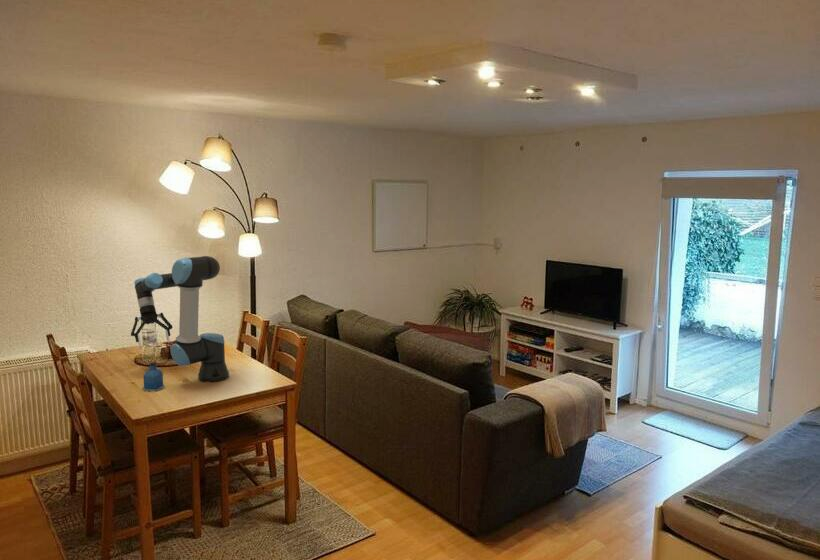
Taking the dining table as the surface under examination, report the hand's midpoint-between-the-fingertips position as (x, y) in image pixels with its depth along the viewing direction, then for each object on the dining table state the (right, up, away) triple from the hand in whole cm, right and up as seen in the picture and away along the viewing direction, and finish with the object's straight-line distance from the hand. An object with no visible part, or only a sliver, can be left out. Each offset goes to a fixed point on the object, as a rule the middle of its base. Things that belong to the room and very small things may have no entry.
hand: (154, 345), depth 306 cm
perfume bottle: (+7, -19, -17) cm, 26 cm away
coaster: (+7, -19, -17) cm, 27 cm away
